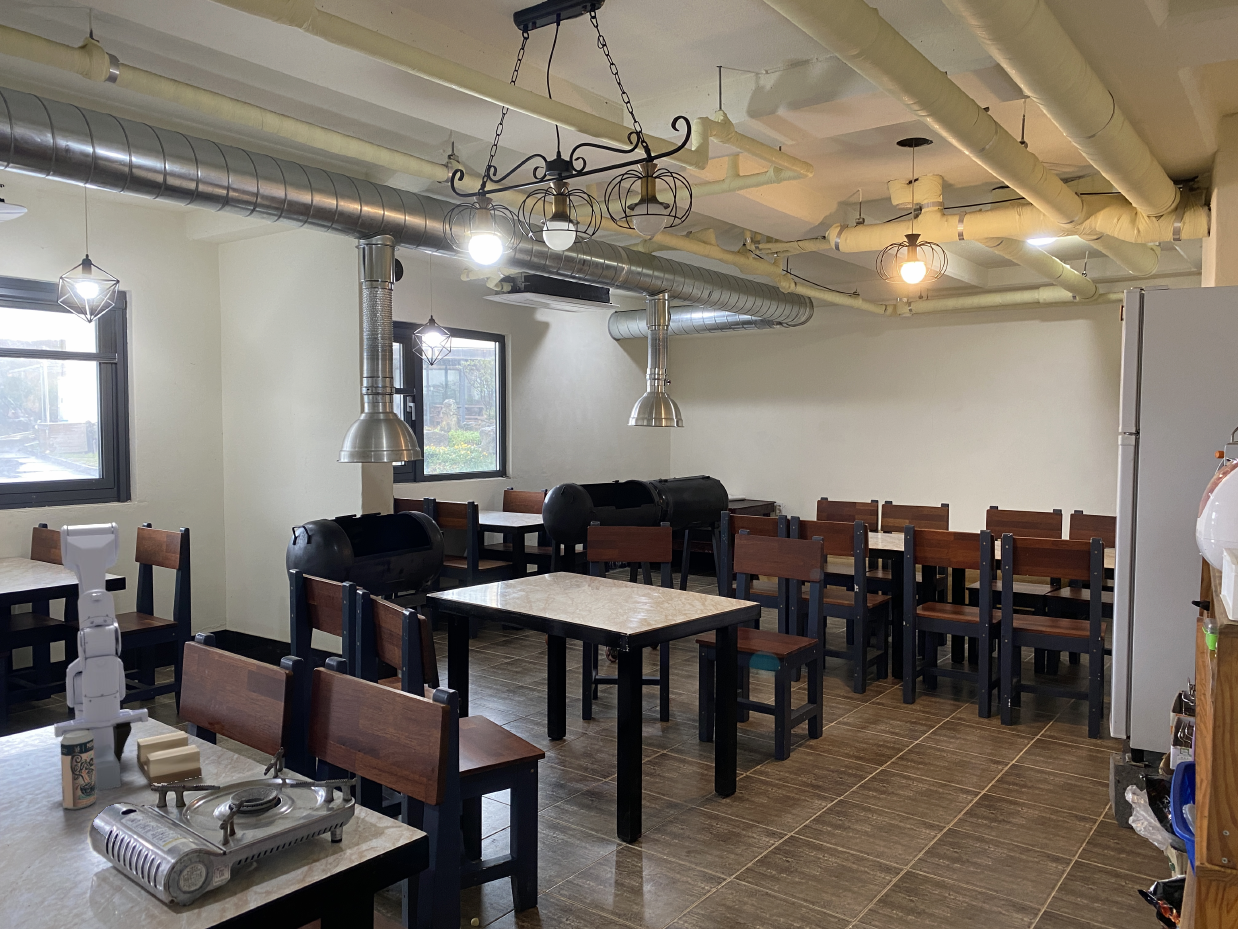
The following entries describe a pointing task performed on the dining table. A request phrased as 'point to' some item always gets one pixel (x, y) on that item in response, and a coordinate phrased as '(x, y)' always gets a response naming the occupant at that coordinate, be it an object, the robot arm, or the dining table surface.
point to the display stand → (168, 758)
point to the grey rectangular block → (106, 768)
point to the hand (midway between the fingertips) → (103, 768)
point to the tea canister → (78, 769)
